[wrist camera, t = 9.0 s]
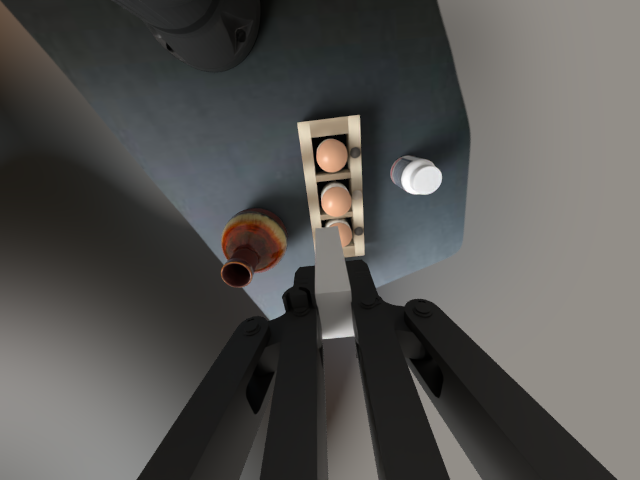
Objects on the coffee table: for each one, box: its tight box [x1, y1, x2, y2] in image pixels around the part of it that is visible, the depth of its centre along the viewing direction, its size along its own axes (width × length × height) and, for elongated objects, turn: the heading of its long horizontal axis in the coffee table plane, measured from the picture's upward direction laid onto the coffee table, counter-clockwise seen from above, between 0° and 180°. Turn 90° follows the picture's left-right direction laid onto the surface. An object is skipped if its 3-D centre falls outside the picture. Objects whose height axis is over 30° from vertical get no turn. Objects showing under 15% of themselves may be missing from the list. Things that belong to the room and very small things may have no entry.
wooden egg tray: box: [297, 115, 365, 257], centre depth 39 cm, size 23×9×4 cm, turn 6°
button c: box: [325, 218, 352, 247], centre depth 41 cm, size 5×5×4 cm
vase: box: [221, 208, 288, 287], centre depth 37 cm, size 11×11×15 cm
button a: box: [316, 139, 348, 172], centre depth 36 cm, size 5×5×4 cm
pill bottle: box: [391, 156, 442, 195], centre depth 36 cm, size 5×5×9 cm
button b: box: [321, 181, 352, 217], centre depth 37 cm, size 5×5×4 cm
